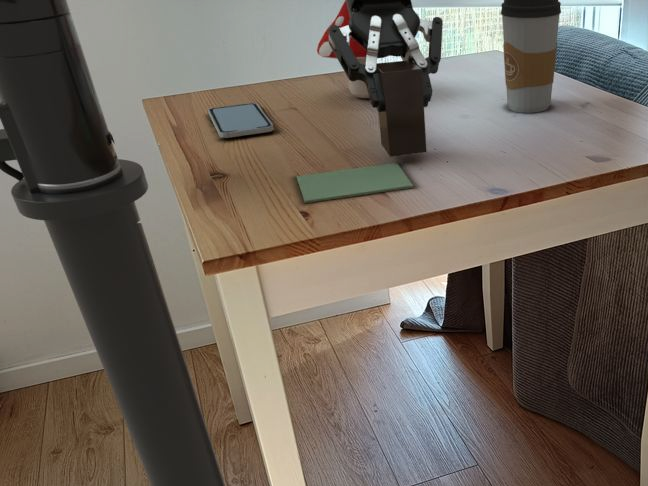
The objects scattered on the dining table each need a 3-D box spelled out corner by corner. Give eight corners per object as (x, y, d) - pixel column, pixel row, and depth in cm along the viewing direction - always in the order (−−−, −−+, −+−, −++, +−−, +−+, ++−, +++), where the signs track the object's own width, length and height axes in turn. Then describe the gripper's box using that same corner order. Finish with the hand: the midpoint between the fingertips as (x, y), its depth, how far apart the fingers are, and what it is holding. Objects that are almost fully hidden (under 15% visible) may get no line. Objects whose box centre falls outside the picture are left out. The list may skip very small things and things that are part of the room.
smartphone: (256, 102, 106) (274, 126, 94) (257, 107, 106) (275, 132, 95) (206, 108, 104) (219, 133, 92) (208, 114, 104) (220, 140, 93)
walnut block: (390, 157, 81) (382, 72, 76) (381, 144, 85) (373, 63, 80) (426, 152, 83) (421, 68, 77) (416, 140, 86) (411, 59, 81)
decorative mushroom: (417, 85, 115) (411, -16, 106) (406, 108, 104) (397, -3, 95) (334, 86, 116) (321, -14, 108) (314, 109, 105) (298, -1, 96)
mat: (305, 203, 74) (304, 200, 74) (296, 178, 80) (296, 176, 80) (413, 187, 77) (413, 185, 77) (397, 165, 83) (396, 162, 83)
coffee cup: (490, 105, 104) (489, -6, 95) (537, 96, 107) (540, -12, 98) (519, 118, 98) (520, 1, 89) (568, 109, 101) (574, -5, 92)
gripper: (311, -44, 77) (343, 93, 74) (435, -51, 80) (469, 80, 77) (312, 2, 84) (341, 129, 81) (425, -6, 87) (457, 116, 85)
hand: (403, 105), depth 79 cm, fingers closed on walnut block, 4 cm apart
